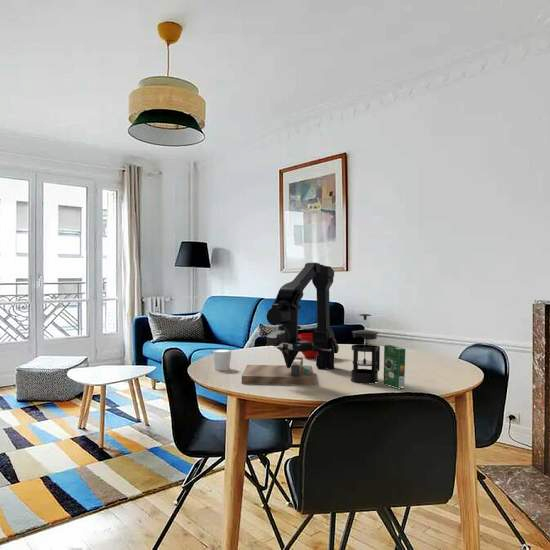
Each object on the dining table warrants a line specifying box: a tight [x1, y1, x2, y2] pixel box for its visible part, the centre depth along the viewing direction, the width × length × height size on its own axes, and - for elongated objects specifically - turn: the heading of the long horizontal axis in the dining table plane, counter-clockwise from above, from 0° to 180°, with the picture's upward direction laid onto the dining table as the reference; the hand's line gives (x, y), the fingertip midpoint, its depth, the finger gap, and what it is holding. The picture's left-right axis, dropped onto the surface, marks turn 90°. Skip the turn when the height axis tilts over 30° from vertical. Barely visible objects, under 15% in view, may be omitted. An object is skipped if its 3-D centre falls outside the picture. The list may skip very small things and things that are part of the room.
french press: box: [350, 313, 381, 385], centre depth 162 cm, size 12×9×23 cm
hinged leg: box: [291, 356, 304, 376], centre depth 164 cm, size 18×3×3 cm, turn 173°
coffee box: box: [383, 344, 406, 388], centre depth 153 cm, size 8×3×13 cm, turn 23°
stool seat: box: [241, 364, 315, 386], centre depth 165 cm, size 24×20×4 cm
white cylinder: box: [212, 349, 232, 371], centre depth 179 cm, size 7×7×7 cm
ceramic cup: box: [298, 332, 337, 360], centre depth 208 cm, size 13×17×10 cm
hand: (288, 368), depth 161 cm, fingers closed
